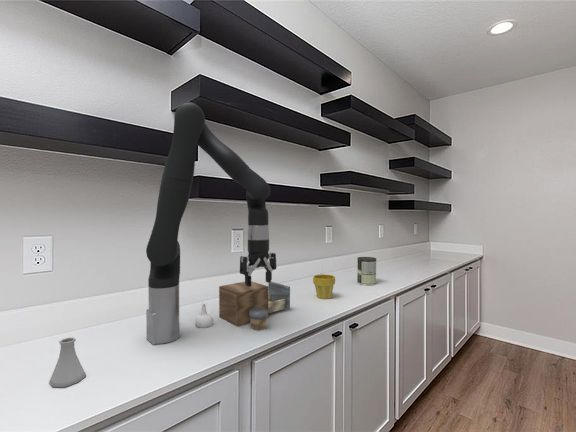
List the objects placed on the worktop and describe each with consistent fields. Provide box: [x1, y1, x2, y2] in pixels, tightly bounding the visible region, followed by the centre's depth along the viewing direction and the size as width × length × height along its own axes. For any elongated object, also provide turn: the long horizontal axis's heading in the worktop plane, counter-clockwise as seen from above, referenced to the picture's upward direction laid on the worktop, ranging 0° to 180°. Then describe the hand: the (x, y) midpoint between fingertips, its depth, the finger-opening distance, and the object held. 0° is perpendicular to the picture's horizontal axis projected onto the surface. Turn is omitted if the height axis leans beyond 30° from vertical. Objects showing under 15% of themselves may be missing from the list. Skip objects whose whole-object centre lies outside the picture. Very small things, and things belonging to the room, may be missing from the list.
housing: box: [218, 280, 269, 327], centre depth 122 cm, size 14×12×12 cm
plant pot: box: [312, 273, 336, 300], centre depth 150 cm, size 10×10×10 cm
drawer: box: [267, 280, 291, 314], centre depth 130 cm, size 15×12×9 cm
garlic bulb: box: [194, 303, 214, 329], centre depth 114 cm, size 6×6×8 cm
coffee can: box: [356, 256, 377, 287], centre depth 177 cm, size 10×10×14 cm
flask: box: [49, 336, 87, 388], centre depth 78 cm, size 7×7×10 cm
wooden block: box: [250, 318, 268, 332], centre depth 112 cm, size 4×4×4 cm
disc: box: [249, 308, 269, 320], centre depth 112 cm, size 6×6×2 cm
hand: (258, 284), depth 111 cm, fingers open, 8 cm apart
